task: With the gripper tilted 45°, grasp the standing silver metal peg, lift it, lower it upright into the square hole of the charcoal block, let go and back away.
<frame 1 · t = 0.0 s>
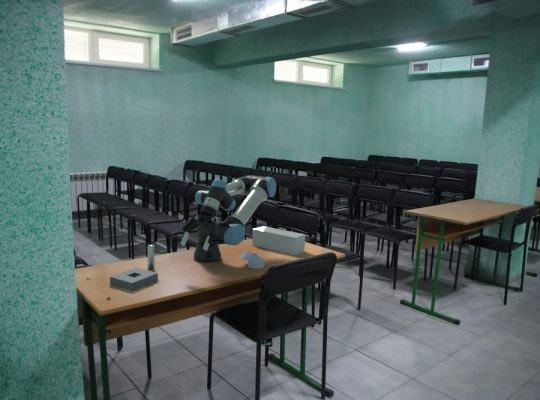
hand: (193, 247, 207), 15 cm above the table, tool tilted 35°, fingers open, 13 cm apart
long white box: (277, 248, 267), on the table
peg: (151, 268, 221), on the table
hole block: (134, 282, 201), on the table
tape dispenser: (253, 265, 233), on the table
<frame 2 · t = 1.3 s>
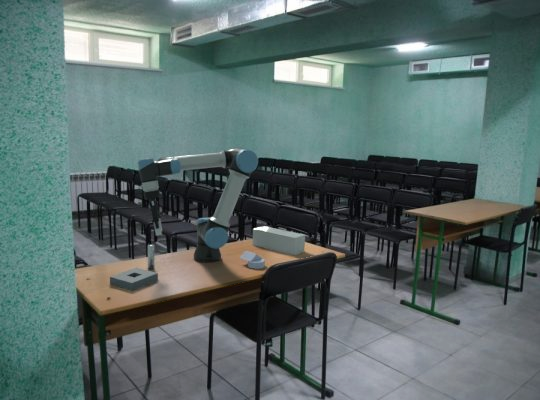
hand: (159, 233, 211), 20 cm above the table, tool pointing down, fingers open, 13 cm apart
nothing on the table moved.
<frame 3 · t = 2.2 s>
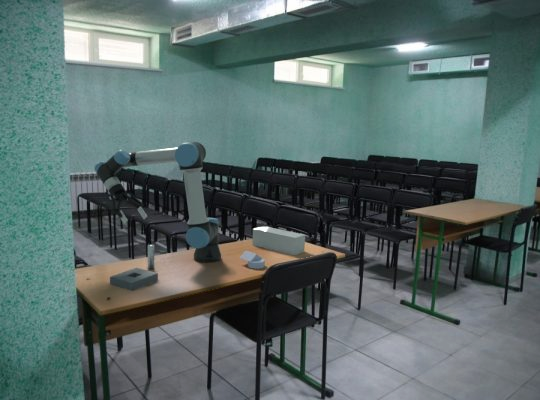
hand: (136, 219, 222), 24 cm above the table, tool tilted 45°, fingers open, 13 cm apart
nothing on the table moved.
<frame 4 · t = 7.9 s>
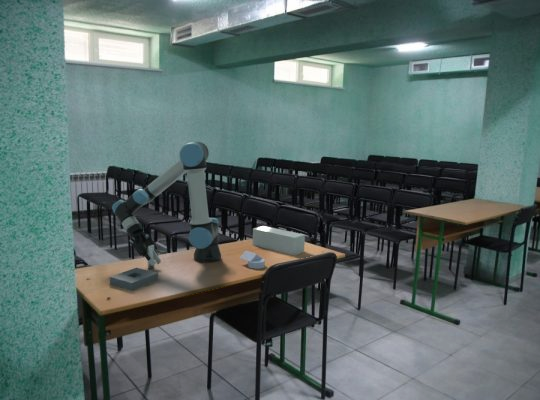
hand: (156, 263, 219), 3 cm above the table, tool tilted 45°, fingers closed on peg, 3 cm apart
peg: (151, 268, 221), on the table, touching gripper
everything else where it was.
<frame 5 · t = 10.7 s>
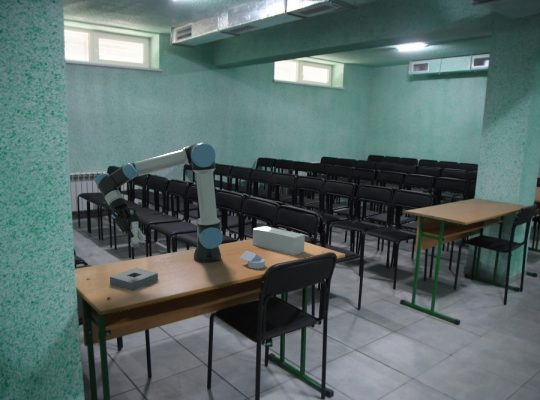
hand: (140, 241, 202), 18 cm above the table, tool tilted 45°, fingers closed on peg, 3 cm apart
peg: (134, 246, 205), point 15 cm above the table, touching gripper
everything else where it was.
when the fingers open (7 cm above the table, at t = 13.5 s): peg drops 4 cm, resting in hole block.
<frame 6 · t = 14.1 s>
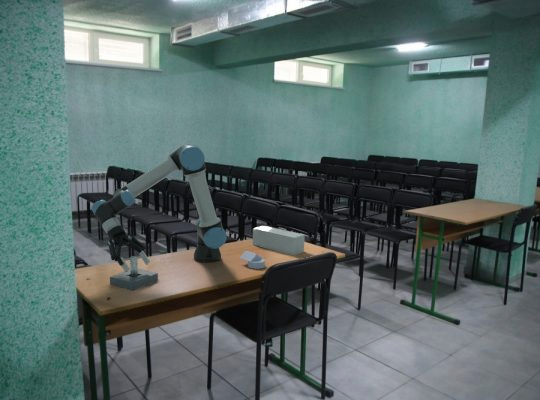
hand: (138, 266, 199), 8 cm above the table, tool tilted 45°, fingers open, 12 cm apart
peg: (134, 282, 201), resting in hole block
everything else where it was.
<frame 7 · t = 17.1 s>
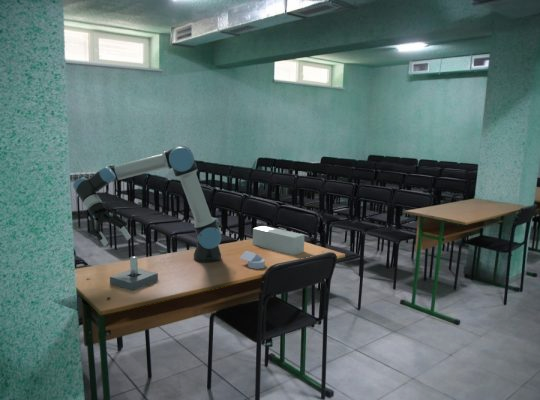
hand: (118, 241, 203), 18 cm above the table, tool tilted 45°, fingers open, 13 cm apart
nothing on the table moved.
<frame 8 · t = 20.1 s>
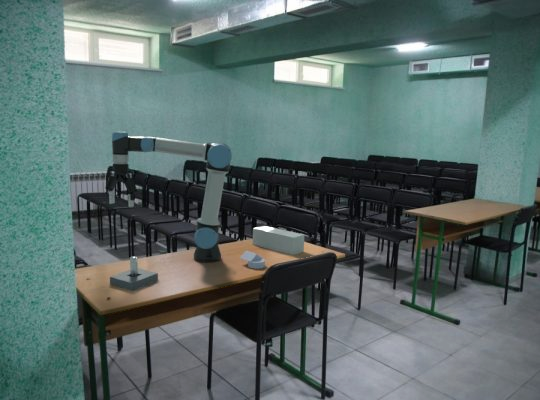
hand: (121, 205, 219), 32 cm above the table, tool pointing down, fingers open, 13 cm apart
nothing on the table moved.
at the end: peg 0.1 cm off-centre on the hole block, point 0.0 cm above the hole block's base; peg tilted 0°; the gripper is holding nothing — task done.
